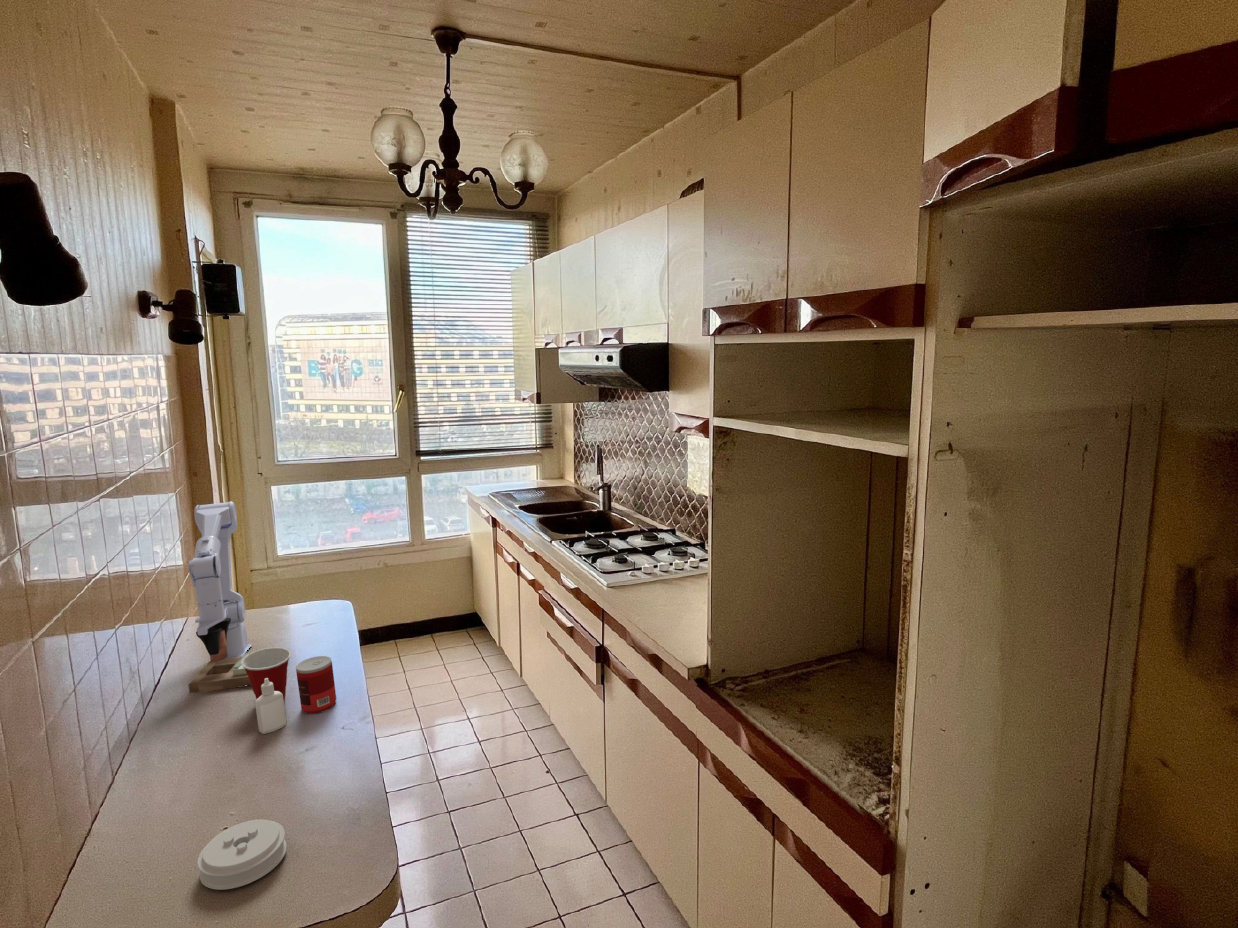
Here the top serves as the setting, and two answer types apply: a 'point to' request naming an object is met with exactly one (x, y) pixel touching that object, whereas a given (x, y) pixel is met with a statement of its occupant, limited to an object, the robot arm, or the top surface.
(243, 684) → the board
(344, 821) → the top surface
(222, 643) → the pin
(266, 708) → the eye dropper bottle
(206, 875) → the lid
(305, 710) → the canned food
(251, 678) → the plastic cup
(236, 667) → the cover
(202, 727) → the top surface
